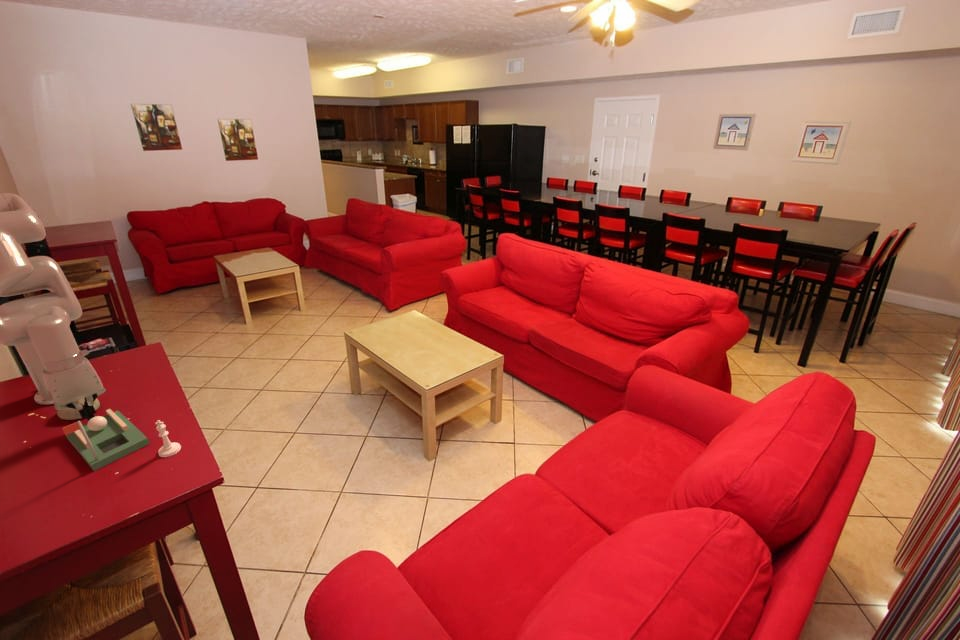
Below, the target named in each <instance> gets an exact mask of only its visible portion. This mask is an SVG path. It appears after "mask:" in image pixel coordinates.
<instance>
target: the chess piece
mask: <svg viewBox="0 0 960 640" xmlns="http://www.w3.org/2000/svg"><path fill="white" fill-rule="evenodd" d="M164 423H165V422H164V421H161V420H160V419H158V420H157V421H156V422H155V423H154V424H155V426H156V425H157V426H156V427H155V430H157V431H158V437H159V438H162V442H163V445H162V446H161V447H160V448H159V449H158V451H157V452H158V454H157V455H158V456H159V457H160V458H168V457H172V456H174V455H177V453H178V452H180V451H181V448H182V445H181V444H180V443H179V442H176V441H175V442H171V440H170V439H169V437H168V435H169V434H170V433H169V431H168V430H166V427H167V425H166V424H164Z"/></svg>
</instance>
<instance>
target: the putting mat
mask: <svg viewBox="0 0 960 640" xmlns="http://www.w3.org/2000/svg"><path fill="white" fill-rule="evenodd" d="M105 412H106V414H105V415H103V416H102V417H104V418H106V420H107V425H106V427H105V428H104V429H102V430H100V431H91V430H90V429H89V428H88V426H87V424H88V422H87V423H84V424H82V422H81V420H78V421H76V422H73V423H71V424H68V425H67V426H64V427H61V430H62V431H63V433H64V435H65V437H66V438H67V440H68V442H70V443H71V445H72V446H73V447H74V449H75V450H76V452H77V453H78V454H79V455H80V456H81V457H82V458H83V459H84V461H85V462H86V464H88V466H89V467H90V468H91V470H92V471H93V472H95V471H98V470H100V469H101V468H103V467H106V466H107V465H110V464H112V463H114V462H116V461H118V460H120V459H122V458H124V457H126V456H128V455H130V454H132V453H134V452H136V451H138V450H141V449H142V448H144V447H146V446H148V445H150V441H149V439H148V437H147V436H146V435H145V434H144V433H143V432H142V431H141V430H139V429H138V427H136V426H135V425H134V424H133V423H132V422H131V421H130V420H129V419H128V418H127V417H126V416H124V415H123V413H121V412H120V411H119V410H116V411H113V410H112V409H111V408H108V409H106V410H105Z"/></svg>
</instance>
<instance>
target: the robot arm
mask: <svg viewBox="0 0 960 640" xmlns="http://www.w3.org/2000/svg"><path fill="white" fill-rule="evenodd" d="M46 232H47V231H46V228H45V226H44V224H43V222H42V220H41V219H40V217H39V216H38V215H37V213H36V212H35V211H34V209H33V208H32V207H31V206H30V205H28V203H27V202H26V201H25V200H24V199H23V198H22V197H21V196H20V195H18V194H16V193H11V192H4V193H2V192H1V193H0V297H3V298H4V297H5V298H7V297H12V296H18V295H23V294H27V293H31V292H38V291H43V290H48V291H50V292H47V293H43V294H37V295H34V296H33V295H31V296H28V297H24V298H18V299H15V300H11V301H8V302H5V303H1V304H0V344H2V345H3V346H8V347H13V346H14V347H15V349H16V351H17V352H18V355H19V357H20V359H21V360H22V362H23V365H25V368H26V370H27V372H28V374H29V377H30V378H31V379H32V382H33V383H34V385H35V387H36V389H37V392H36V393H35V394H34V397H33V399H34V401H35V402H36V404H39V405H44V406H45V405H47V406H48V405H54V406H53V407H54V409H55V410H57V411H58V410H60V409H64V408H73V409H77V410H78V411H79V413H80V415H81V417H82V418H81V419H86V420H87V422H88V421H89V420H90V419H91V418H93V417H96V415H95V414H96V413H97V410H96V411H95V409H94V407H93V404H94V401H95V399H96V398H97V399H98V397H99V396H101V395H103V394H104V393H105V392H107V389H106V388H105V387H104V385H103V383H102V380H101V378H100V377H99V375H98V373H97V371H96V370H95V368H94V367H93V365H92V364H91V362H90V361H89V359H88V358H87V357H85V356H87V355H89V354H90V352H89V351H88V349H85V350H83V349H82V350H81V349H80V348H79V346H78V343H77V341H76V338H75V337H74V334H73V332H72V330H71V327H70V325H71V322H73V321H76V320H78V319H79V318H81V317H82V316H83V310H82V309H83V308H82V306H81V304H80V301H79V300H78V298H77V296H76V294H75V292H74V290H73V288H72V286H71V285H70V282H69V281H68V279H67V277H66V275H65V273H64V271H63V270H62V268H61V267H60V265H59V264H58V263H57V261H55V259H53V258H52V257H50V256H47V255H35V256H31V257H28V255H27V254H26V252H25V250H24V249H23V247H22V245H21V244H26V243H27V244H28V243H33V242H41V241H43V240H44V239H45V238H46V237H47V236H46V235H47V234H46ZM82 398H84V400H85V402H84V405H82V404H80V403H79V401H78V400H80V399H82Z"/></svg>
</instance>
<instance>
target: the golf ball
mask: <svg viewBox="0 0 960 640" xmlns="http://www.w3.org/2000/svg"><path fill="white" fill-rule="evenodd" d="M87 423H88V424H87V426H88V428H89V429H90V430H91V431H100V430H102V429H104V428H105V427H106V425H107V420H106V418H104V417H103V416H100V415H95V417H93V418H91V419H90V420H89V421H88V420H87Z"/></svg>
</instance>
